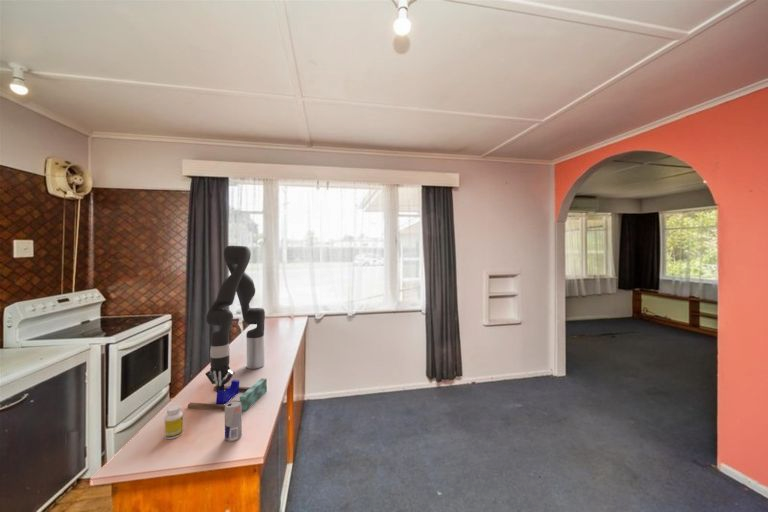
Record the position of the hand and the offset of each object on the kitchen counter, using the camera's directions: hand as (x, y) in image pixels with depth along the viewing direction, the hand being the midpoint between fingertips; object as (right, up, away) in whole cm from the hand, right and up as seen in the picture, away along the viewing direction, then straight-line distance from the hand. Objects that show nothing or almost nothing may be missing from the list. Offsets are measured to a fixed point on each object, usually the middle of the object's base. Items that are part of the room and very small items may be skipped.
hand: (220, 393), depth 136 cm
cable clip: (+3, -3, 0) cm, 4 cm away
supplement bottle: (-2, -3, -27) cm, 27 cm away
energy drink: (+20, -3, -28) cm, 34 cm away
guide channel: (+4, -3, 0) cm, 4 cm away
